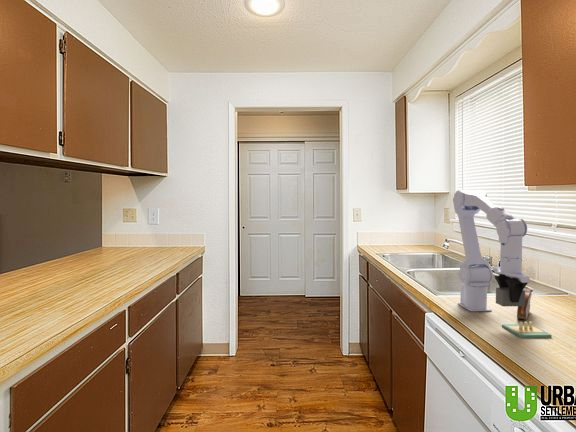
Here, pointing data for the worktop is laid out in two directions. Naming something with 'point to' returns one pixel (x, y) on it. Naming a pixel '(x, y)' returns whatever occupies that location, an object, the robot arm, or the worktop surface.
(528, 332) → the board
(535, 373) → the worktop surface
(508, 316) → the worktop surface
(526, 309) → the tin
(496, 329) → the worktop surface
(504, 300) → the block
